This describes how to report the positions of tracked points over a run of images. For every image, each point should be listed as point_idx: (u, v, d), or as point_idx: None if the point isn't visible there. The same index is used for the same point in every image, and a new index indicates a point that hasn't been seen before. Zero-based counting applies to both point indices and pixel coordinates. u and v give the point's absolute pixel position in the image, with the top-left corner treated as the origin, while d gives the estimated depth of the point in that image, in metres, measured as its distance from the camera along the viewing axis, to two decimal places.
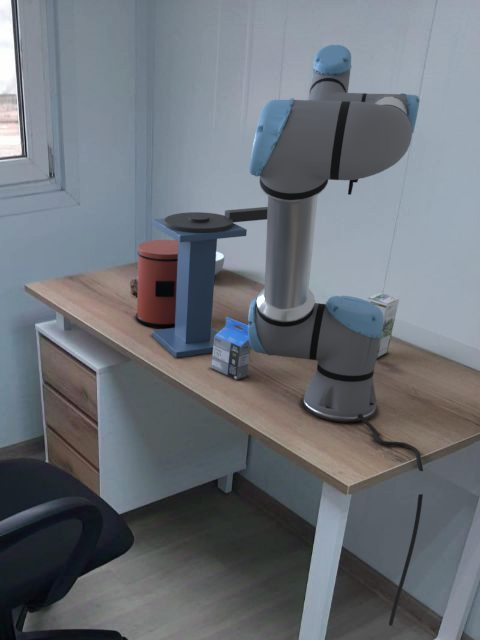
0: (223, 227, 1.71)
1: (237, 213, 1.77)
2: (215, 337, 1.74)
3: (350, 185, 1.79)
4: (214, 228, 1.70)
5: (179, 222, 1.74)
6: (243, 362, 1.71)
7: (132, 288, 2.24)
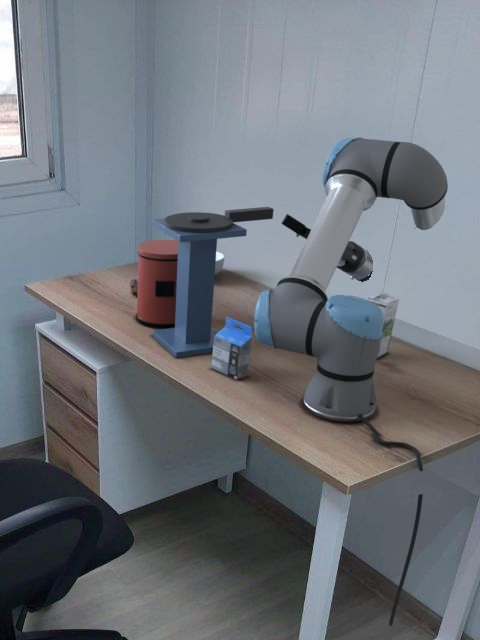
0: (223, 227, 1.71)
1: (237, 213, 1.77)
2: (215, 337, 1.74)
3: None
4: (214, 228, 1.70)
5: (179, 222, 1.74)
6: (243, 362, 1.71)
7: (132, 288, 2.24)
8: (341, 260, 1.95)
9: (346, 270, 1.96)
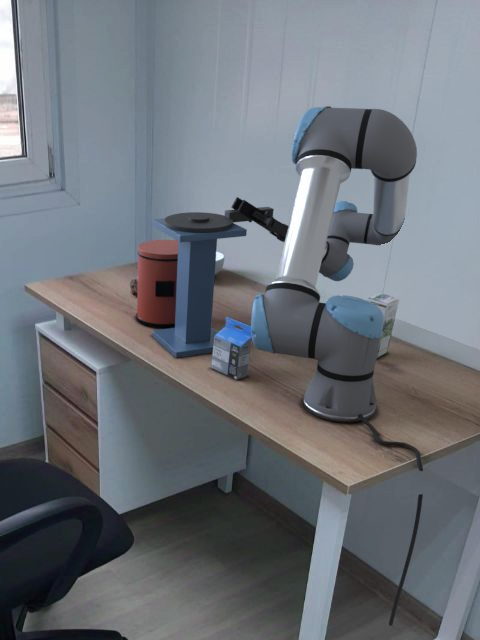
0: (223, 227, 1.71)
1: (237, 213, 1.77)
2: (215, 337, 1.74)
3: None
4: (214, 228, 1.70)
5: (179, 222, 1.74)
6: (243, 362, 1.71)
7: (132, 288, 2.24)
8: None
9: None
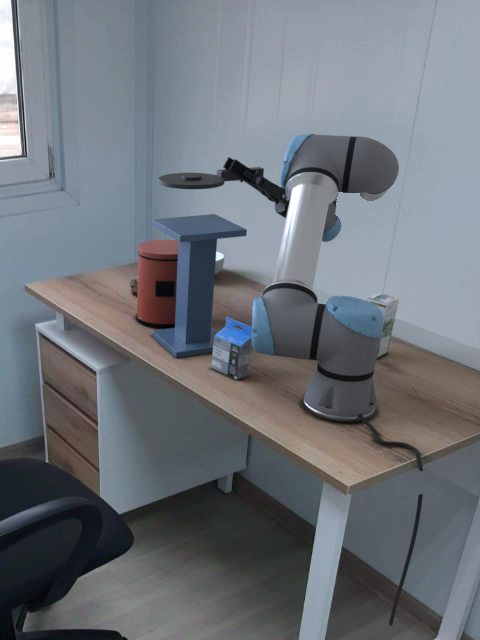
0: (214, 184, 1.78)
1: (228, 172, 1.85)
2: (215, 337, 1.74)
3: (243, 165, 1.85)
4: (206, 185, 1.77)
5: (172, 180, 1.82)
6: (243, 362, 1.71)
7: (132, 288, 2.24)
8: (281, 205, 1.95)
9: None
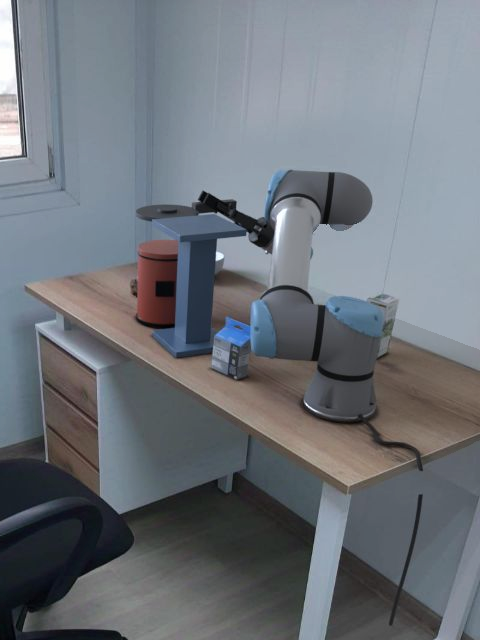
0: None
1: (203, 205, 1.93)
2: (215, 337, 1.74)
3: (217, 198, 1.93)
4: None
5: (149, 213, 1.90)
6: (243, 362, 1.71)
7: (132, 288, 2.24)
8: (254, 235, 2.04)
9: (260, 245, 2.05)
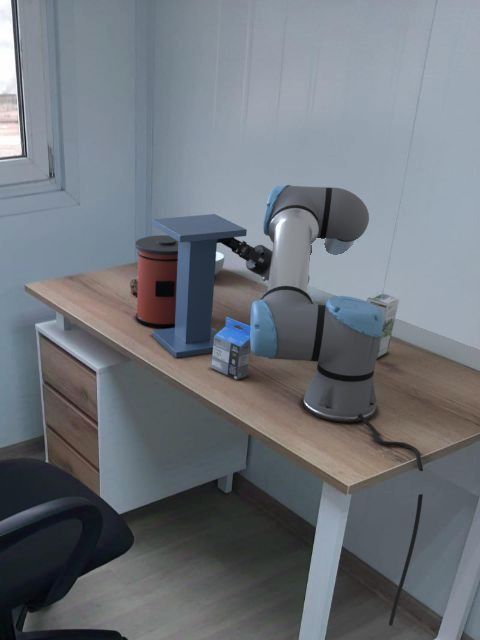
0: None
1: None
2: (215, 337, 1.74)
3: None
4: None
5: (148, 245, 1.95)
6: (243, 362, 1.71)
7: (132, 288, 2.24)
8: (252, 262, 2.08)
9: (257, 272, 2.09)
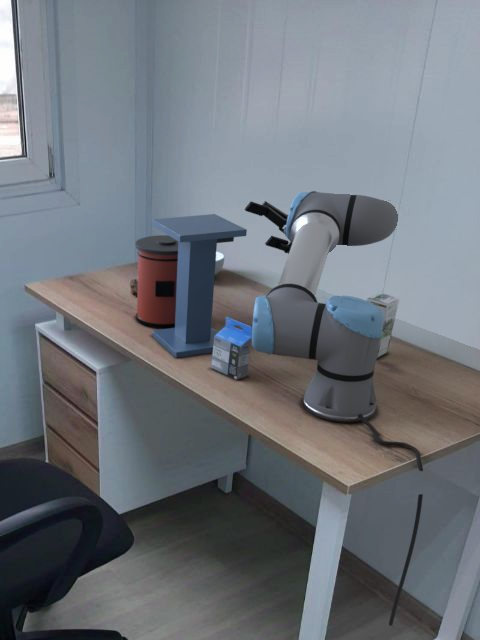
0: None
1: None
2: (215, 337, 1.74)
3: (279, 238, 1.95)
4: None
5: (148, 245, 1.95)
6: (243, 362, 1.71)
7: (132, 288, 2.24)
8: None
9: None
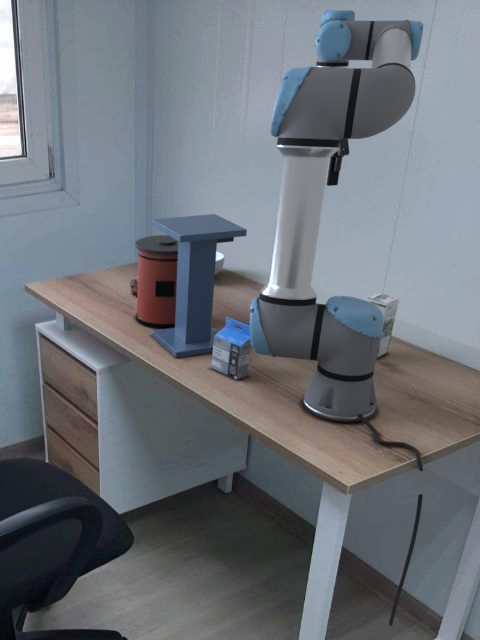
0: None
1: None
2: (215, 337, 1.74)
3: None
4: None
5: (148, 245, 1.95)
6: (243, 362, 1.71)
7: (132, 288, 2.24)
8: None
9: None
